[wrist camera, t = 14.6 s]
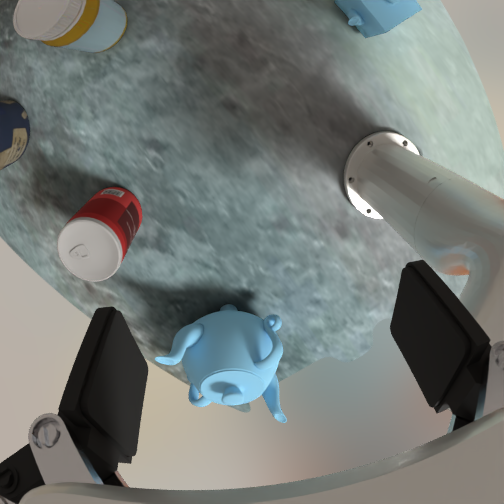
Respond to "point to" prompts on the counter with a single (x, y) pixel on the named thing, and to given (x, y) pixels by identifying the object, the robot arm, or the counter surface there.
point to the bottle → (71, 23)
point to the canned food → (100, 234)
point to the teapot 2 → (377, 14)
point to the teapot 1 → (230, 358)
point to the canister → (12, 132)
